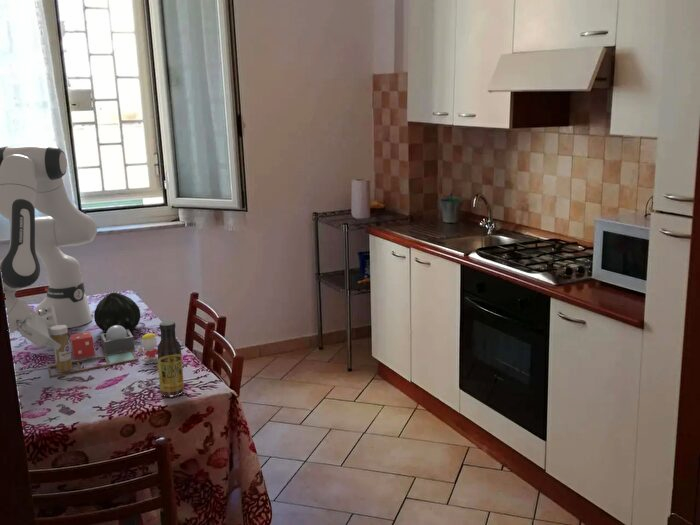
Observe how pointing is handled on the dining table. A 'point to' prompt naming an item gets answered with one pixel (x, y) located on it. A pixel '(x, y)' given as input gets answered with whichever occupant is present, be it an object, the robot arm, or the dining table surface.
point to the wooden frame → (110, 359)
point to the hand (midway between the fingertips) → (58, 342)
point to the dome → (116, 332)
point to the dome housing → (118, 343)
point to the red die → (82, 344)
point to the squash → (117, 312)
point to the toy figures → (148, 347)
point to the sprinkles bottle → (62, 348)
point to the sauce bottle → (169, 361)
